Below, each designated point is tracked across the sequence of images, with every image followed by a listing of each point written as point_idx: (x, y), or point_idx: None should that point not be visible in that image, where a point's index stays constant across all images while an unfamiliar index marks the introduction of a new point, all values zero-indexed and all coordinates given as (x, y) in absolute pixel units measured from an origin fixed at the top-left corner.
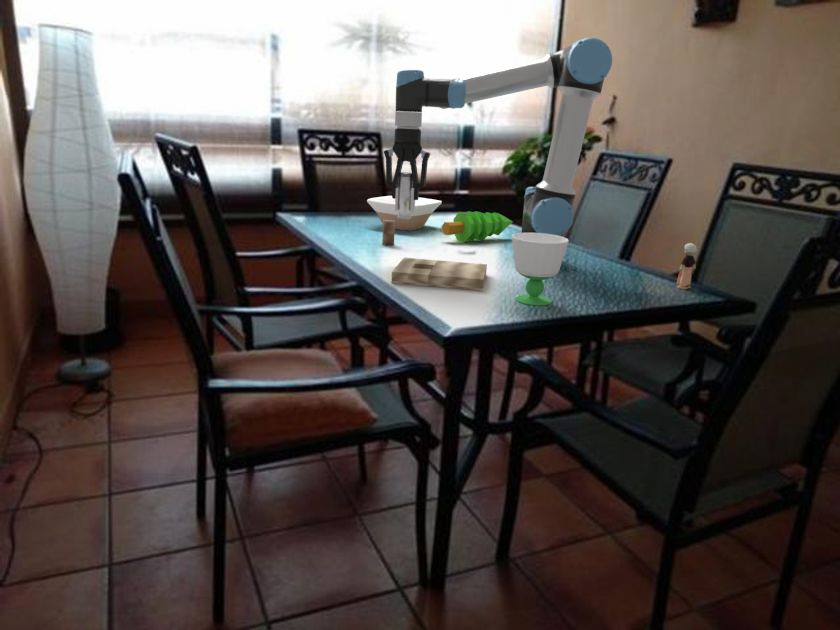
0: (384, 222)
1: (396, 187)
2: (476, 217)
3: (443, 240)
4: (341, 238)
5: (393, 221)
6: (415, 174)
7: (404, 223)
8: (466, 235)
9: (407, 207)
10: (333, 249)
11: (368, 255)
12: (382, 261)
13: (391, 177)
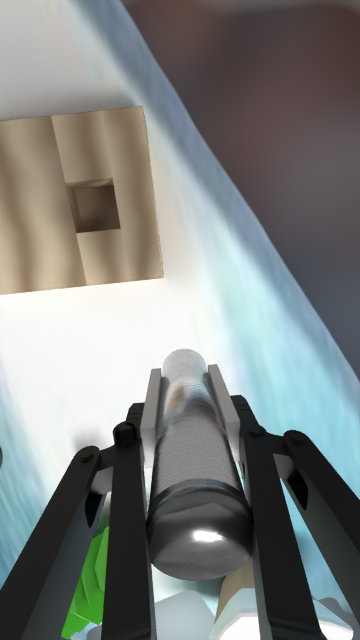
0: None
1: (239, 432)
2: (87, 589)
3: None
4: (340, 456)
5: None
6: (114, 523)
7: (249, 570)
8: None
9: (170, 372)
10: (335, 366)
11: (258, 348)
12: (218, 311)
13: (299, 501)
